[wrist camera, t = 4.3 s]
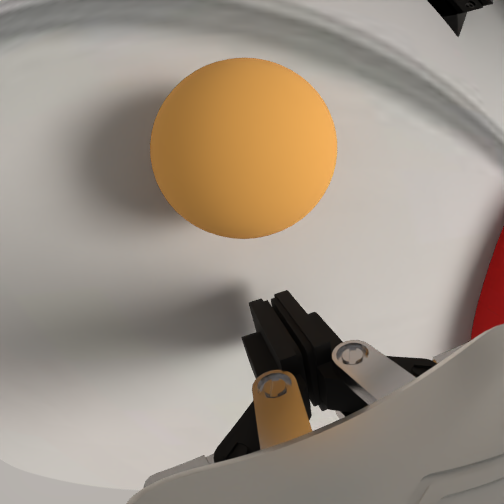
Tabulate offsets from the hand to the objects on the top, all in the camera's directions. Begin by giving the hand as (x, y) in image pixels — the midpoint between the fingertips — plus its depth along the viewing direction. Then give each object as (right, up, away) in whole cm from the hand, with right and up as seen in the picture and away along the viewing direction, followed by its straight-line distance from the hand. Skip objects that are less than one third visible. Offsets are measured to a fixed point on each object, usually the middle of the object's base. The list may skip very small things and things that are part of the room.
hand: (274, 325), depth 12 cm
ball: (-1, +6, -4) cm, 7 cm away
